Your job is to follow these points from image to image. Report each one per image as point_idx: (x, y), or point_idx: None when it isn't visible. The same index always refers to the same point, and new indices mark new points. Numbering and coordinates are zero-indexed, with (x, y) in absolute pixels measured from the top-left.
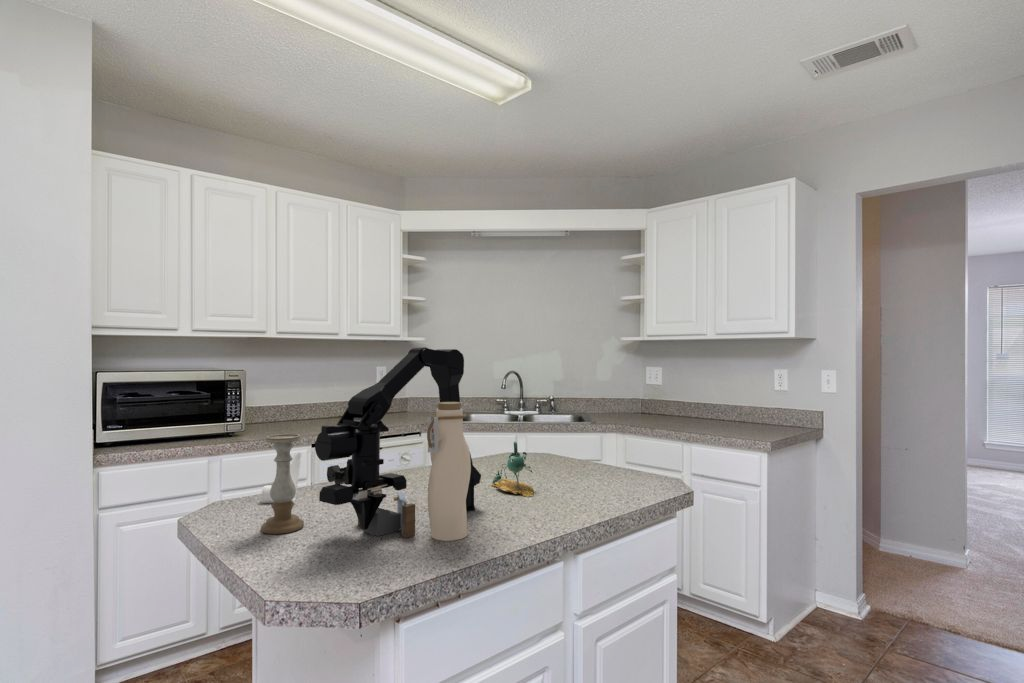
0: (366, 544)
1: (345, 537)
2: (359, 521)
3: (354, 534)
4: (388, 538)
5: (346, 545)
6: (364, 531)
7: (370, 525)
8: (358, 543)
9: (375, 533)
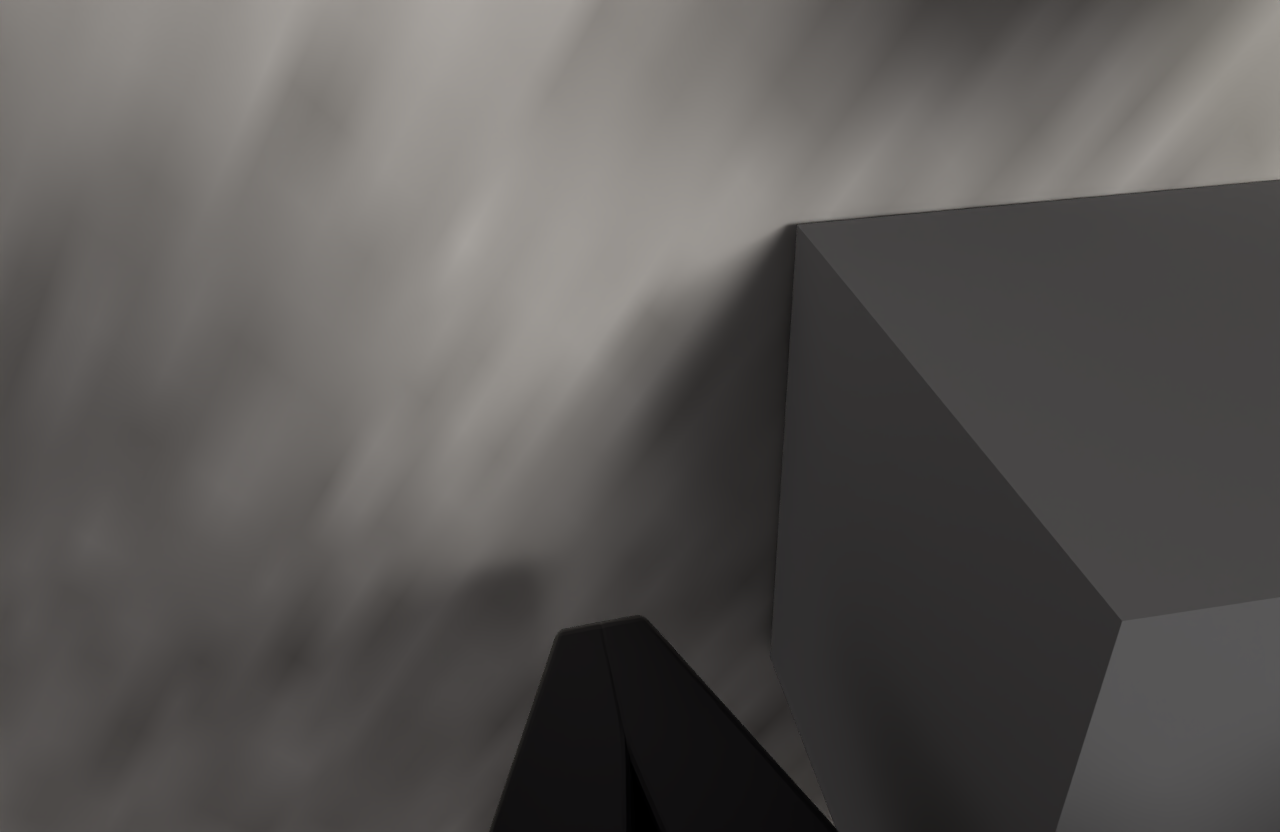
0: (397, 827)
1: (233, 274)
2: (509, 797)
3: (529, 226)
4: (819, 788)
5: (57, 707)
6: (798, 265)
7: (843, 590)
8: (307, 734)
9: (782, 635)
